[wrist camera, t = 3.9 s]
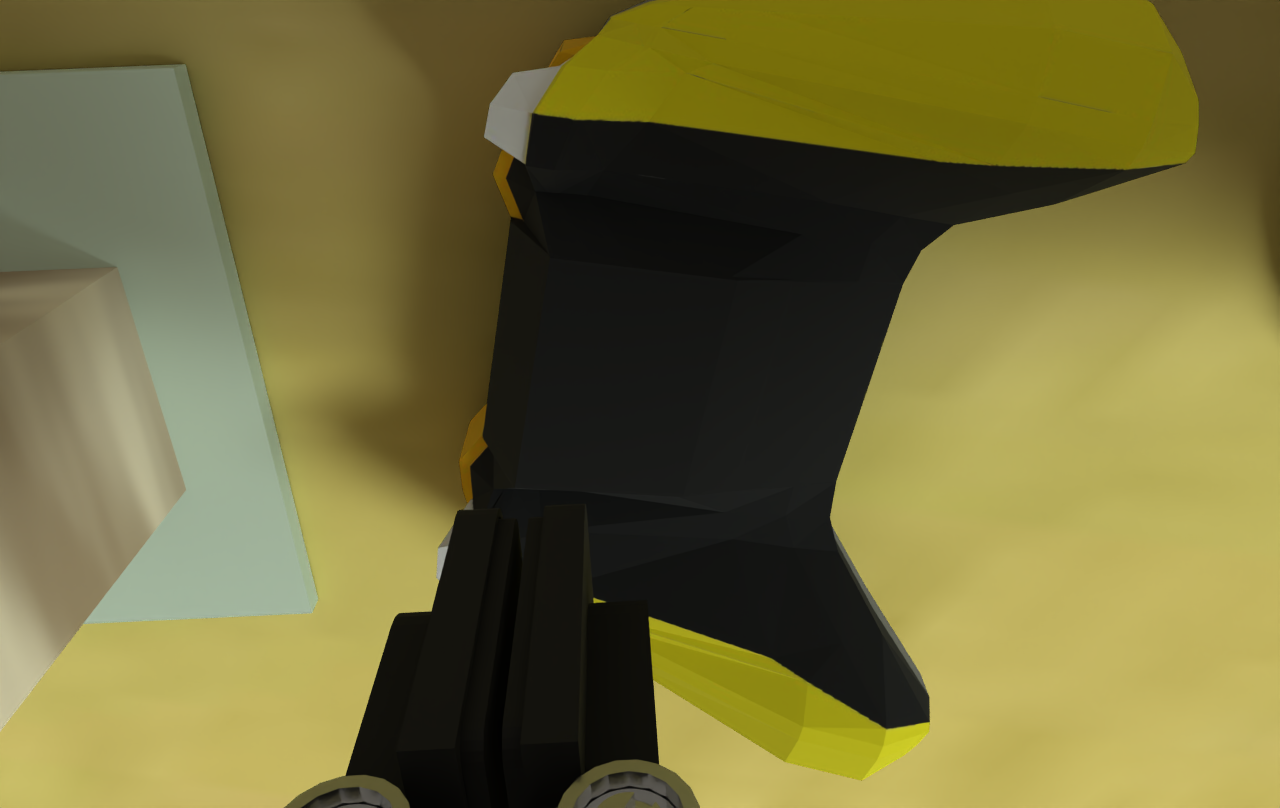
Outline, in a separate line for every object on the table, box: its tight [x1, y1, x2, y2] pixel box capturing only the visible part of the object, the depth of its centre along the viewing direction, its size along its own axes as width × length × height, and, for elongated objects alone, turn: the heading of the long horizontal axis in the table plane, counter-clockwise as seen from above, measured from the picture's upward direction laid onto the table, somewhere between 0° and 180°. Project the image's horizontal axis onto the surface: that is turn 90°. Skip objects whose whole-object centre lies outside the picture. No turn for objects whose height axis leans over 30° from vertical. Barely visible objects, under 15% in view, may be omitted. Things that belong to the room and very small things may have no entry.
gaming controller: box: [437, 0, 1199, 781], centre depth 16 cm, size 15×6×10 cm
